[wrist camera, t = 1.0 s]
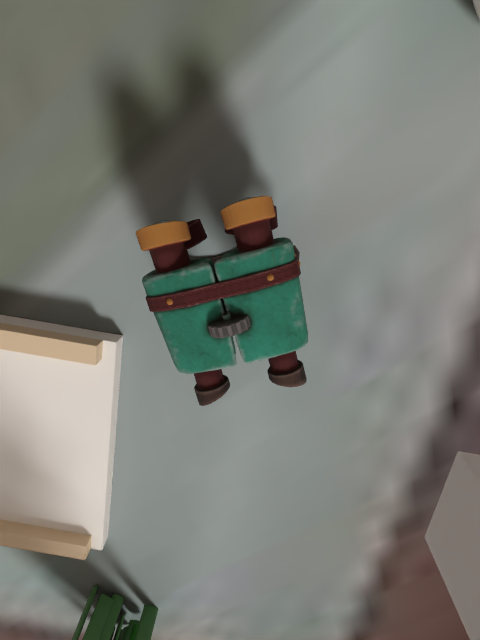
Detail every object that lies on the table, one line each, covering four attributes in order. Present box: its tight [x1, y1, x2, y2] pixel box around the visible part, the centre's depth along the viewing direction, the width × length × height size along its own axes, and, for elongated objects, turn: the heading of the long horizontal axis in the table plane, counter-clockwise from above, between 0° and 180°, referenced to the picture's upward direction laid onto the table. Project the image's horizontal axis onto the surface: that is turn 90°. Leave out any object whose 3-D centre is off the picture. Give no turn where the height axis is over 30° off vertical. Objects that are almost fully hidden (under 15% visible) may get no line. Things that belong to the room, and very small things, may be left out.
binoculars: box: [136, 196, 308, 406], centre depth 25 cm, size 9×11×10 cm
